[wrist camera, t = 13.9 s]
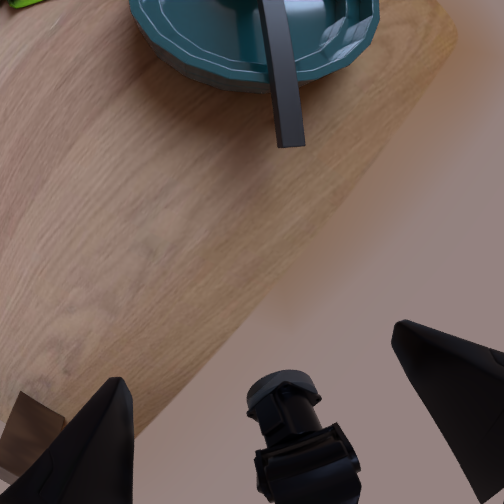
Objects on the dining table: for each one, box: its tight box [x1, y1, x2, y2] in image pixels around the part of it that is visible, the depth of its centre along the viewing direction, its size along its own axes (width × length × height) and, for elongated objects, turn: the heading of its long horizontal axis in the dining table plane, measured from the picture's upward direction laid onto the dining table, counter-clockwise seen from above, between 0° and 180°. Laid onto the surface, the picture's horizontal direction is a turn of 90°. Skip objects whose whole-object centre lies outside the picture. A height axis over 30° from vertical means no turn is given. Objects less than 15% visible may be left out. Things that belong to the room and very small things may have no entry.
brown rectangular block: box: [0, 391, 64, 485], centre depth 18 cm, size 6×6×10 cm
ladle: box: [257, 0, 305, 148], centre depth 13 cm, size 16×5×4 cm, turn 6°
